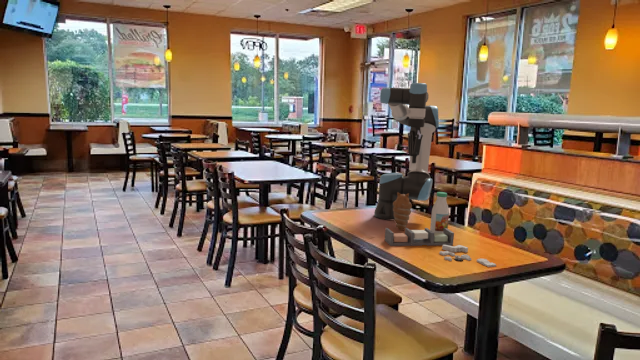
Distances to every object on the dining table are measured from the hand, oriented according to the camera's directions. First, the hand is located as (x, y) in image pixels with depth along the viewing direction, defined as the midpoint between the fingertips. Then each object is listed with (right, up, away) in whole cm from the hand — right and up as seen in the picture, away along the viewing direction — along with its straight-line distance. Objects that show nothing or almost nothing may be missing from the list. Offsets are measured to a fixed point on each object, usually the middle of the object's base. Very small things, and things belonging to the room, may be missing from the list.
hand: (412, 170), depth 214 cm
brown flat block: (-8, -30, -13) cm, 34 cm away
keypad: (0, -32, -11) cm, 34 cm away
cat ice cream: (-4, -28, +8) cm, 30 cm away
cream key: (+1, -29, -12) cm, 31 cm away
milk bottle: (+12, -30, +2) cm, 33 cm away
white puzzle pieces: (+11, -36, -29) cm, 47 cm away
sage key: (+9, -31, -10) cm, 34 cm away
